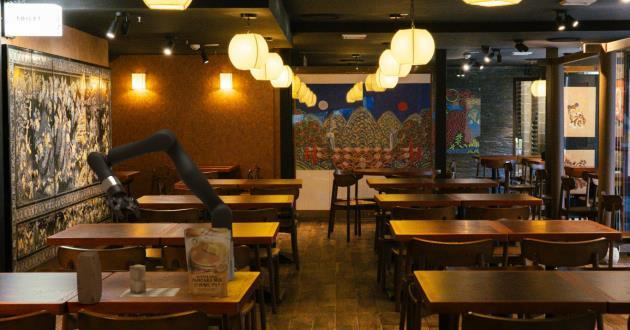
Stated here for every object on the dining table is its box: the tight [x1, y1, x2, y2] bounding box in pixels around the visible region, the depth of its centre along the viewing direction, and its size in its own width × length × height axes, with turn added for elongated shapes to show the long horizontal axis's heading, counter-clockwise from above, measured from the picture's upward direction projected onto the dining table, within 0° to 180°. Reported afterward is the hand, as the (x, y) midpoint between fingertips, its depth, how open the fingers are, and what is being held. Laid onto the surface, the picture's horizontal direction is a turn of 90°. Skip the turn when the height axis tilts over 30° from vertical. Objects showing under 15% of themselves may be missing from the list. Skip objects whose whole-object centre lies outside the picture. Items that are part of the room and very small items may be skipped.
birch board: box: [119, 287, 181, 298], centre depth 311 cm, size 22×14×2 cm, turn 89°
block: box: [76, 250, 103, 305], centre depth 302 cm, size 11×8×20 cm
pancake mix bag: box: [183, 227, 231, 298], centre depth 308 cm, size 7×19×28 cm, turn 86°
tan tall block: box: [129, 264, 147, 295], centre depth 310 cm, size 5×5×11 cm
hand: (130, 217), depth 324 cm, fingers open, 8 cm apart
